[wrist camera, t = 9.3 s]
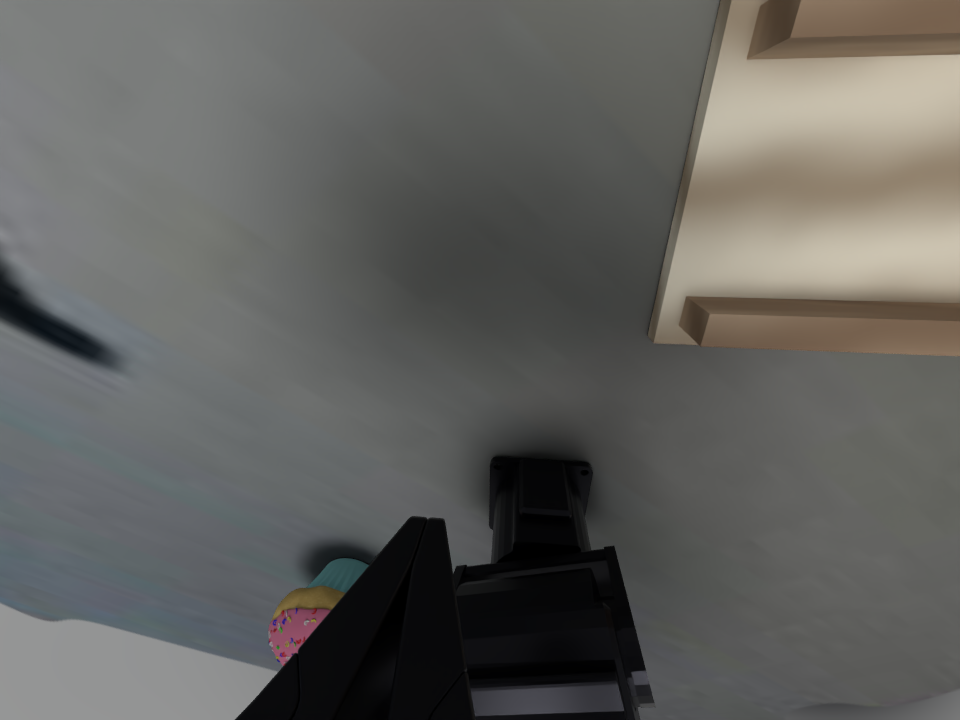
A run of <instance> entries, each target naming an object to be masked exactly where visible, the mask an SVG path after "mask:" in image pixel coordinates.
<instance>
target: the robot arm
mask: <svg viewBox="0 0 960 720" xmlns="http://www.w3.org/2000/svg"><path fill="white" fill-rule="evenodd" d="M496 464H500V466H497V465H496ZM582 470H586V471H582ZM592 474H593V472H592V467H591V465H590V464H589V463H586V462H573V461H557V460H542V459H526V458H510V457H494V458H493V459H492V460H491V464H490V513H489V526H490V528H491V529H492V530H493V541H492V555H491V564H483V565H475V566H467V565H461V566H456V569H455V571H454V574H453V571H452V564H451V558H450V551H449V545H448V538H447V531H446V525H445V520H444V519H442V518H428V519H427V518H426V517H418V516H412V517H410V518H409V519H408V520H407V521H406V522H405V524H404V525H403V526H402V527H401V528H400V529H399V531H398V532H397V533H396V534H395V535H394V537H393V538H392V539H391V540H390V541H389V542H388V544H387V545H386V546H385V547H384V548H383V549H382V551H381V552H380V553H379V554H378V555H377V557H376V558H375V559H374V560H373V561H372V562H371V564H370V565H369V566H368V567H367V568H366V570H365V571H364V572H363V573H362V574H361V575H360V577H359V578H358V579H357V580H356V581H355V583H354V584H353V585H352V586H351V587H350V588H349V590H348V591H347V592H346V593H345V594H344V596H343V597H342V598H341V599H340V600H339V601H338V603H337V604H336V605H335V606H334V607H333V608H332V610H331V611H330V612H329V613H328V614H327V616H326V617H325V618H324V619H323V620H322V621H321V623H320V624H319V625H318V626H317V627H316V629H315V630H314V631H313V632H312V633H311V634H310V636H309V637H308V638H307V639H306V640H305V642H304V643H303V644H302V645H301V646H300V647H299V649H298V653H294V654H293V655H292V657H291V658H290V659H289V660H288V661H287V663H286V664H285V665H284V666H283V667H282V668H281V670H280V671H279V672H278V673H277V674H276V675H275V677H274V678H273V679H272V680H271V681H270V682H269V683H268V684H267V686H266V687H265V688H264V689H263V690H262V691H261V692H260V694H259V695H258V696H257V697H256V698H255V699H254V700H253V701H252V702H251V704H250V705H249V706H248V707H247V708H246V709H245V710H244V711H243V712H242V713H241V714H240V715H239V716H238V717H237V718H236V719H235V720H640V716H639V712H638V707H641V708H652V707H655V704H654V700H653V696H652V692H651V688H650V684H649V680H648V676H647V672H646V669H645V665H644V661H643V657H642V653H641V649H640V645H639V641H638V637H637V633H636V629H635V625H634V621H633V618H632V614H631V610H630V606H629V602H628V598H627V594H626V590H625V586H624V582H623V578H622V574H621V571H620V567H619V563H618V559H617V555H616V551H615V547H614V546H608V547H604V549H600V550H592V551H591V547H590V542H589V537H588V532H587V526H586V521H585V513H586V507H587V502H588V496H589V491H590V485H591V479H592Z"/></svg>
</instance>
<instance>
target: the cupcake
mask: <svg viewBox="0 0 960 720" xmlns="http://www.w3.org/2000/svg"><path fill="white" fill-rule="evenodd" d="M368 566H369V565H368V564H366V563H364V562H362V561H359V560H356V559H350V558H340V559H336V560H333V561H331V562H330V563H329V564H328V565H327V566H326V567H325V568H324V569H323V570H322V572H321V573H320V574H319V575H318V576H317V577H316V578H315V579H314V580H313V582H312V583H311V584H310V585H309V586H308V587H306V588H299V589H296V590H294V591H292V592H290V593H289V594H288V595H287V596H286V597H285V598H284V599H283V600H282V601H281V603H280V604H279V605H278V607H277V609H276V611H275V613H274V615H273V618H272V621H271V623H270V625H269V645H270V646H271V647H272V648H271V650H272V651H274V653H275V655H276V658H277V661H278V662H281V664H282V665H283V666H284V665H285V664H286V663H287V661H288V660H289V659H290V658H291V657H292V655H293V654H294V653H298V649H299V647H300V646H301V645H302V644H303V643H304V642H305V640H306V639H307V638H308V637H309V636H310V634H311V633H312V632H313V631H314V630H315V629H316V627H317V626H318V625H319V624H320V623H321V621H322V620H323V619H324V618H325V617H326V616H327V614H328V613H329V612H330V611H331V610H332V608H333V607H334V606H335V605H336V604H337V603H338V601H339V600H340V599H341V598H342V597H343V596H344V594H345V593H346V592H347V591H348V590H349V588H350V587H351V586H352V585H353V584H354V583H355V581H356V580H357V579H358V578H359V577H360V575H361V574H362V573H363V572H364V571H365V570H366V568H367V567H368Z"/></svg>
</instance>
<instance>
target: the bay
mask: <svg viewBox="0 0 960 720" xmlns="http://www.w3.org/2000/svg"><path fill="white" fill-rule="evenodd" d="M648 337H649V338H650V339H651V341H652V342H653V343H658V344H685V345H699V346H700V347H725V348H752V349H780V350H807V351H834V352H861V353H888V354H915V355H942V356H960V0H720V5H719V10H718V14H717V19H716V23H715V28H714V33H713V37H712V42H711V46H710V51H709V56H708V60H707V65H706V69H705V74H704V79H703V83H702V88H701V92H700V97H699V102H698V106H697V111H696V115H695V120H694V125H693V129H692V134H691V138H690V143H689V148H688V152H687V157H686V161H685V166H684V171H683V175H682V180H681V184H680V189H679V194H678V198H677V203H676V207H675V212H674V217H673V221H672V226H671V230H670V235H669V239H668V244H667V249H666V253H665V258H664V262H663V267H662V272H661V276H660V281H659V285H658V290H657V295H656V299H655V304H654V308H653V313H652V318H651V322H650V327H649V331H648Z"/></svg>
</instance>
